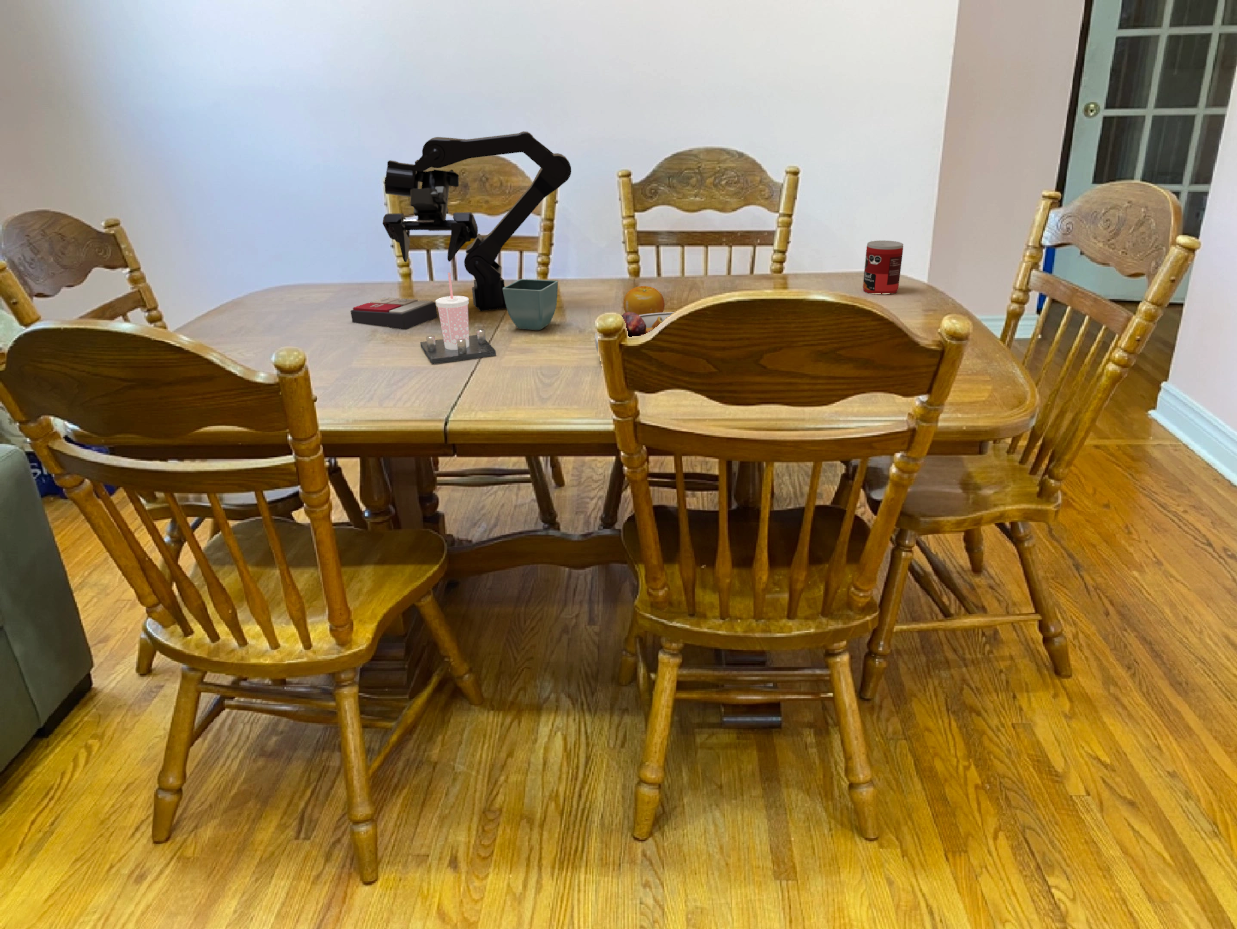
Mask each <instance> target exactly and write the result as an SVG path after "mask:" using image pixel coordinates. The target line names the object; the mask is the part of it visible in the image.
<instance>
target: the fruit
mask: <svg viewBox="0 0 1237 929" xmlns="http://www.w3.org/2000/svg"><path fill="white" fill-rule="evenodd" d="M622 302H623V309H624V310H623V311H624V313H627V312H633V313H636V314H638V315H643V314H651V313H664V310H665V306H666V304H665V299H664V296H663V294H662V293H661V292H660V291H659V290H658V289H657V288H655V287H652V286H647V285H643V286H642V285H640V286H635V287H633V288H632V289H630V290H628V292H627V293H626V294H625V295H624V298H623V301H622Z"/></svg>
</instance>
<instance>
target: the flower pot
mask: <svg viewBox="0 0 1237 929" xmlns="http://www.w3.org/2000/svg"><path fill="white" fill-rule="evenodd" d="M558 285H559V281H558V280H551V279H530V278H529V279H528V278H520V279H518V280H516V281H514V282H512V283H510V284H508V285H506V286H505V287H504V288H503V294H504V299H505V303H506V307H507V308H506V311H507V313H508V316H509V317H510V319H511V322H512V323H513V324H514V325H515V326H516V328H517V329H519V330H533V331H534V330H535V331H540V330H542V329H544V328H545V327H547V326H549V325H550V324H551V321H552V319H553V317H554V315H555V312H556V309H557V303H558V289H559V288H558Z"/></svg>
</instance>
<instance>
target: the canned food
mask: <svg viewBox="0 0 1237 929" xmlns="http://www.w3.org/2000/svg"><path fill="white" fill-rule="evenodd" d="M903 253H904V243H902V242H900V241H894V240H873V241H872V240H871V241H868V242H867V245H866V251H865V259H864V260H865V262H864V268H863V269H864V271H863V280H862V290H863V292H864V291H865V292H864V293H866V292H867V293H866V294H869V293H881V294H882V293H895V294H896V293H898V291H899V286H900V277H901V270H902V261H903Z"/></svg>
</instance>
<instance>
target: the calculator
mask: <svg viewBox="0 0 1237 929" xmlns="http://www.w3.org/2000/svg"><path fill="white" fill-rule="evenodd" d="M350 316H351V321H352V323H354V324H361V325H369V326H376V327H386V328H387V327H389V328H390V329H396V330H402V331H404V330H409V329H411V328H414V327H417V326H419V325H421V324H424V323H427V322H429V321H433V320H435V319H438V318H439V317H438V316H439V314H438V308H437V306H436V301H433V300H423V299H421V300H419V299H417V298H399V297H398V298H397V297H382V298H379V299H376V300H373V301H369V302H366V303H364V304H363V303H362V304H360V305H357V306H353V307H352V309H351V310H350Z"/></svg>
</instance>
